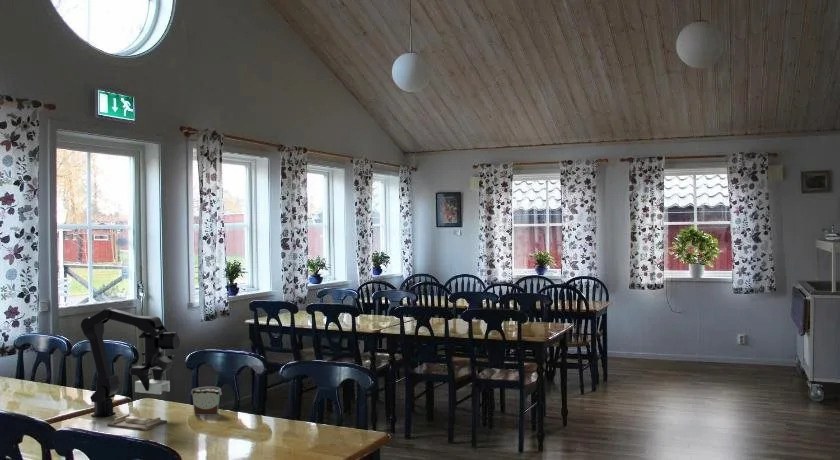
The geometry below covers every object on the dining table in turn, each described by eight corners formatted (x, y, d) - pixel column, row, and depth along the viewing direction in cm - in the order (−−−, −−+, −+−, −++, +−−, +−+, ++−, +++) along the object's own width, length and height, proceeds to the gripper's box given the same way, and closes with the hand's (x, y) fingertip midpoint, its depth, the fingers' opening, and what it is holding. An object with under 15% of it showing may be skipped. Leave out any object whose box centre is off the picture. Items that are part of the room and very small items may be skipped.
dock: (107, 426, 257) (107, 419, 257) (128, 418, 267) (128, 412, 267) (146, 430, 251) (146, 424, 251) (166, 422, 261) (166, 416, 261)
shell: (135, 392, 269) (134, 381, 269) (144, 388, 274) (144, 378, 274) (160, 394, 265) (160, 384, 265) (169, 391, 270) (169, 380, 270)
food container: (226, 411, 277) (226, 386, 277) (220, 415, 271) (220, 390, 271) (197, 410, 278) (197, 385, 278) (190, 414, 272) (190, 389, 272)
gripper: (152, 354, 258) (153, 396, 258) (184, 346, 275) (184, 385, 276) (128, 353, 261) (128, 393, 261) (161, 344, 279) (161, 383, 279)
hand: (152, 388), depth 269 cm, fingers closed on shell, 5 cm apart
